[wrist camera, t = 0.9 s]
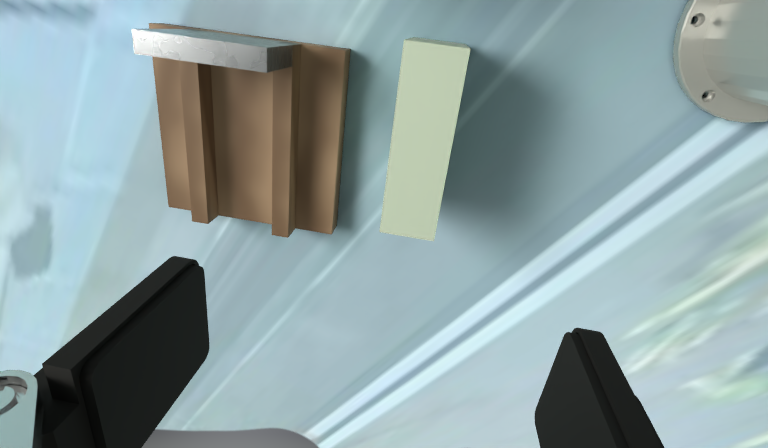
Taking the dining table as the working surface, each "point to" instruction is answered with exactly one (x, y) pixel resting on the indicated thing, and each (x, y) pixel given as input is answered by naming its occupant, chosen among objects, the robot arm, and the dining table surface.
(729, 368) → the dining table surface
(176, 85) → the wooden slotted rack
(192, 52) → the bookend
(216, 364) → the dining table surface
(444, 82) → the pale green foam block
